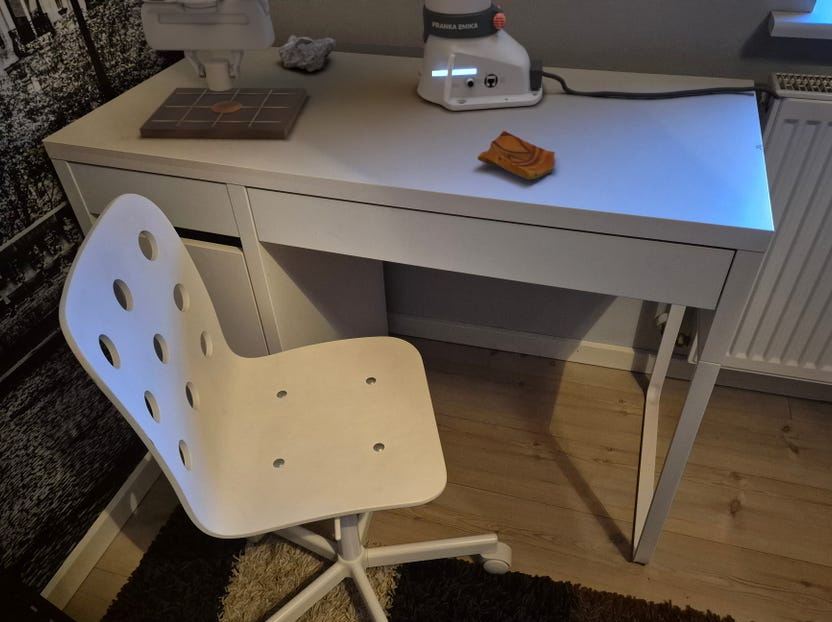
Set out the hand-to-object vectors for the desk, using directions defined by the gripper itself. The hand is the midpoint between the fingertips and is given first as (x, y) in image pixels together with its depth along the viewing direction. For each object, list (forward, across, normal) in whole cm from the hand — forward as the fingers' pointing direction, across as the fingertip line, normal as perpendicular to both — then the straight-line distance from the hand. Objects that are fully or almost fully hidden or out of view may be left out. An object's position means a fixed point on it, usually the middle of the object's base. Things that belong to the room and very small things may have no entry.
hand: (219, 77), depth 111 cm
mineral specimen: (+7, -9, -26) cm, 29 cm away
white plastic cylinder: (+2, 0, 0) cm, 2 cm away
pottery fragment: (+7, -49, +18) cm, 53 cm away
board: (+7, 0, 0) cm, 7 cm away
